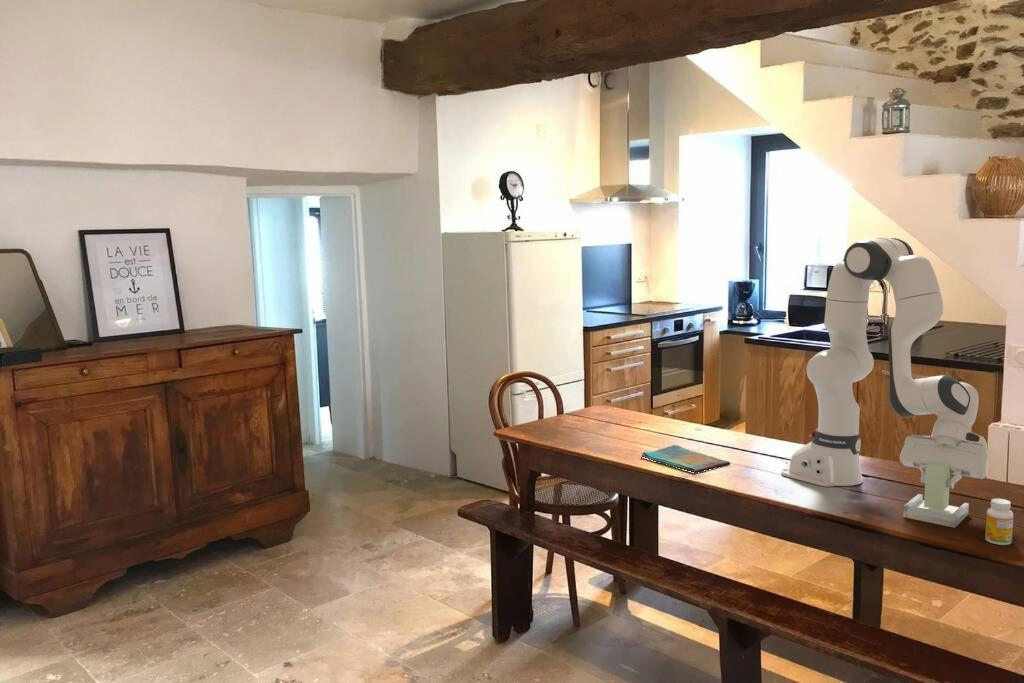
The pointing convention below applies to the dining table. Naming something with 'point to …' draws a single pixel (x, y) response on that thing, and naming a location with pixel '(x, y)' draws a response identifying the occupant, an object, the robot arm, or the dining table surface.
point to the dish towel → (685, 459)
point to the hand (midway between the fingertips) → (936, 484)
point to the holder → (935, 512)
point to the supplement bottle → (999, 522)
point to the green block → (936, 485)
